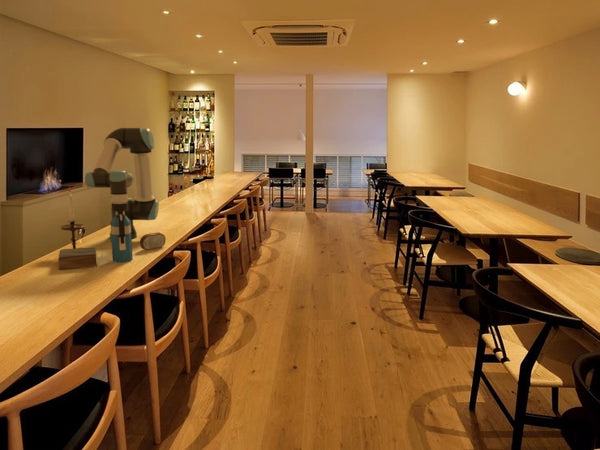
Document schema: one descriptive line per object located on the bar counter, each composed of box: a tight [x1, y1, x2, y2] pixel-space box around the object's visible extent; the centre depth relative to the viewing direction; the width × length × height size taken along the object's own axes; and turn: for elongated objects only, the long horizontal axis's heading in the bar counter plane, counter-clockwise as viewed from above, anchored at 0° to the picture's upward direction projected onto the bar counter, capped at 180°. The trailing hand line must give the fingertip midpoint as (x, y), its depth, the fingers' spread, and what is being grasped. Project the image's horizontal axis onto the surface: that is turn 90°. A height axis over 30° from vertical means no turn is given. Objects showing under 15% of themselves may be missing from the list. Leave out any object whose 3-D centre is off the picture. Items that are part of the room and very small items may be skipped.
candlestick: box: [60, 186, 85, 249], centre depth 250 cm, size 11×11×35 cm
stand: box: [57, 246, 98, 271], centre depth 233 cm, size 16×16×6 cm
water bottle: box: [109, 211, 134, 264], centre depth 239 cm, size 9×9×25 cm
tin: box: [139, 232, 166, 251], centre depth 265 cm, size 15×3×8 cm, turn 141°
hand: (122, 247), depth 241 cm, fingers closed on water bottle, 9 cm apart
